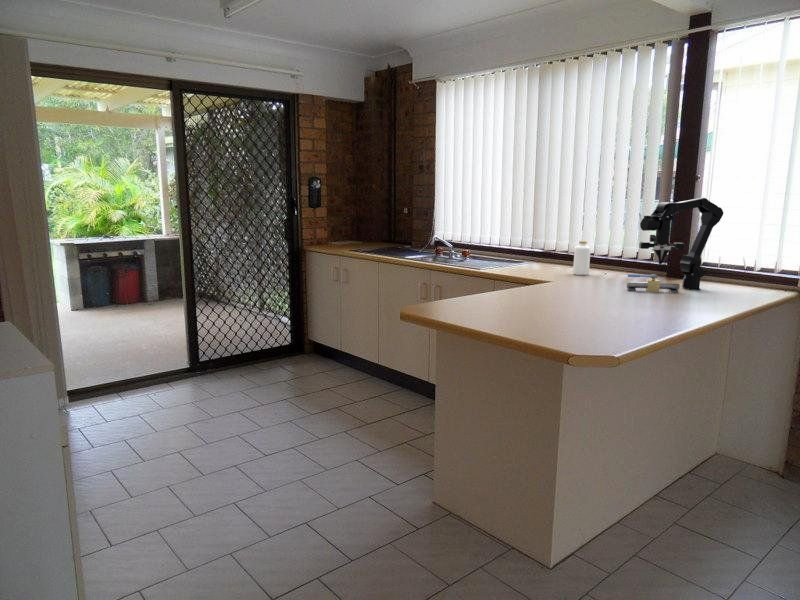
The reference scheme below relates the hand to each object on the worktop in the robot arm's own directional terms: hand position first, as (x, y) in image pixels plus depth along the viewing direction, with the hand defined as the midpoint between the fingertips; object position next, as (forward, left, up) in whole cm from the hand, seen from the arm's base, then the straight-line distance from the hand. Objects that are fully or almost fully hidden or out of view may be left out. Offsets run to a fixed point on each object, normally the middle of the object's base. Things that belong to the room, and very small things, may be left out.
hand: (660, 264), depth 261 cm
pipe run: (+3, +4, -12) cm, 13 cm away
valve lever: (+8, +4, -6) cm, 10 cm away
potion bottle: (+32, -40, -12) cm, 53 cm away
